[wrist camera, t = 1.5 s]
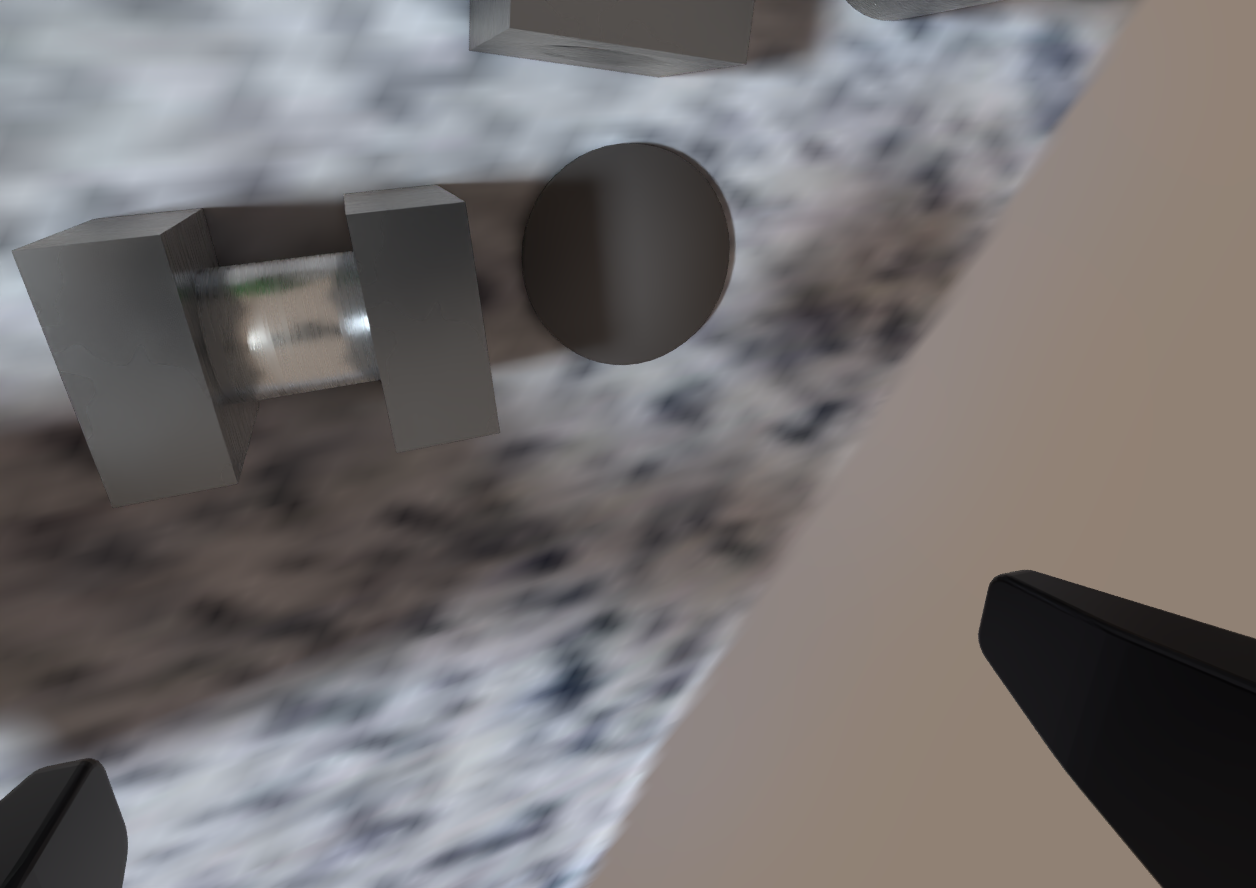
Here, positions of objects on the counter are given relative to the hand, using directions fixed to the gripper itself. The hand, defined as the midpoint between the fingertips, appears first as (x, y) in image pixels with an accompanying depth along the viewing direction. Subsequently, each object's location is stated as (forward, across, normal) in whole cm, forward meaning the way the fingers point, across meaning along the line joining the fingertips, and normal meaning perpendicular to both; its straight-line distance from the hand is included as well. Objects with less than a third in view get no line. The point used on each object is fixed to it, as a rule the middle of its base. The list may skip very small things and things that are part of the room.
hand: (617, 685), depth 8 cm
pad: (+13, -4, -2) cm, 14 cm away
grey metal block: (+13, +4, -1) cm, 13 cm away
